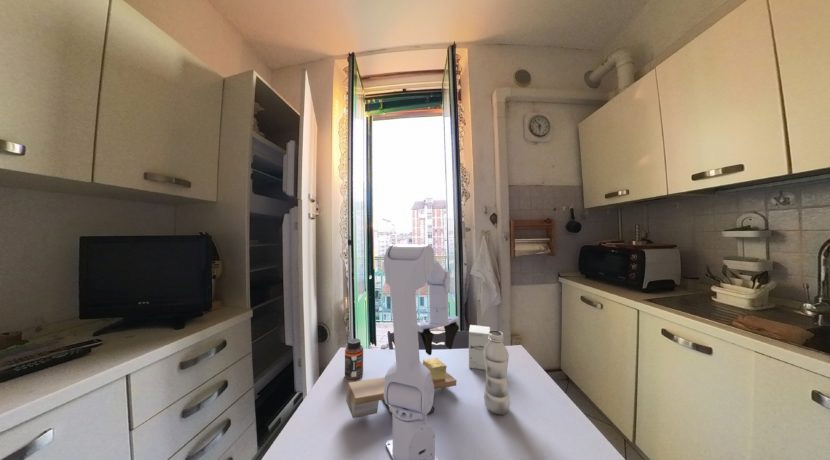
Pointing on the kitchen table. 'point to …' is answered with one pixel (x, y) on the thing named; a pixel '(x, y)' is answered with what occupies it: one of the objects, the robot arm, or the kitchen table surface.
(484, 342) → the supplement box
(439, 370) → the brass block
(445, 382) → the balance beam
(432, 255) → the robot arm
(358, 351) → the supplement bottle
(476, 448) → the kitchen table surface
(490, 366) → the plastic bottle
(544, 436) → the kitchen table surface
